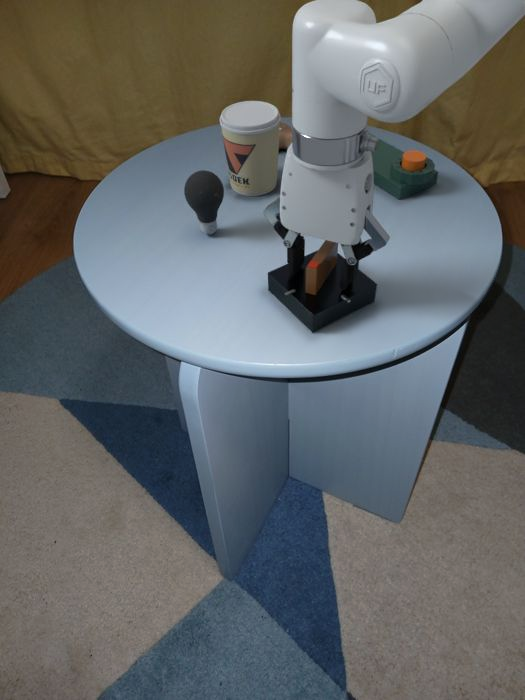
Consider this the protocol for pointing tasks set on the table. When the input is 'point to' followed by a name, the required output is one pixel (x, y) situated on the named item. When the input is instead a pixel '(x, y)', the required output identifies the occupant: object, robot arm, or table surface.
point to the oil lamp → (285, 136)
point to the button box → (399, 172)
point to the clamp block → (320, 294)
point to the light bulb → (205, 198)
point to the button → (413, 160)
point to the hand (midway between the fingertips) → (321, 274)
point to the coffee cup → (251, 146)
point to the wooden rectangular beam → (321, 266)
